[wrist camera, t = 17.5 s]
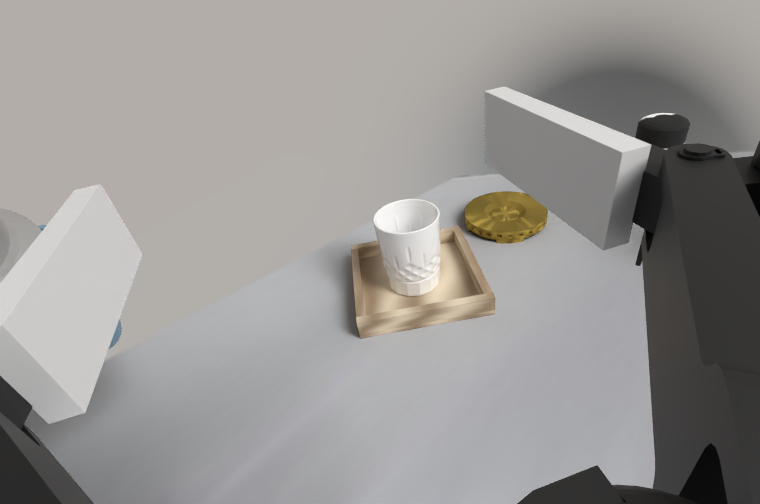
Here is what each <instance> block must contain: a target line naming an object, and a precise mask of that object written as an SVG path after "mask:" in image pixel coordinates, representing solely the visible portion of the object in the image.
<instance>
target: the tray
mask: <svg viewBox="0 0 760 504" xmlns="http://www.w3.org/2000/svg"><path fill="white" fill-rule="evenodd" d="M351 258H352V270H353V283H354V296H355V309H356V321H357V327H358V331H359V334H360V338H366V337H371V336H376V335H382V334H387V333H393V332H398V331H404V330H409V329H415V328H420V327H426V326H431V325H437V324H442V323H448V322H453V321H459V320H464V319H470V318H475V317H481V316H486V315H491V314H495V296H494V294H493V292H492V291H491V289H490V287H489V285H488V283H487V281H486V279H485V277H484V275H483V273H482V271H481V269H480V267H479V265H478V263H477V261H476V259H475V257H474V255H473V253H472V251H471V249H470V247H469V245H468V243H467V241H466V239H465V237H464V235H463V233H462V231H461V229H460V227H459V226H455V227H450V228H444V229H440V279H439V283H438V285H437V286H436V287H435V288H434V289H433V290H432V291H431V292H428V293H426V294H423V295H421V296H405V295H401V294H398V293H397V292H395V291H394V290H393V289H391V286H390V283H389V280H388V275H387V272H386V270H385V267H384V263H383V260H382V256H381V252H380V248H379V244H378V241H373V242H368V243H362V244H357V245H351Z"/></svg>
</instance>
